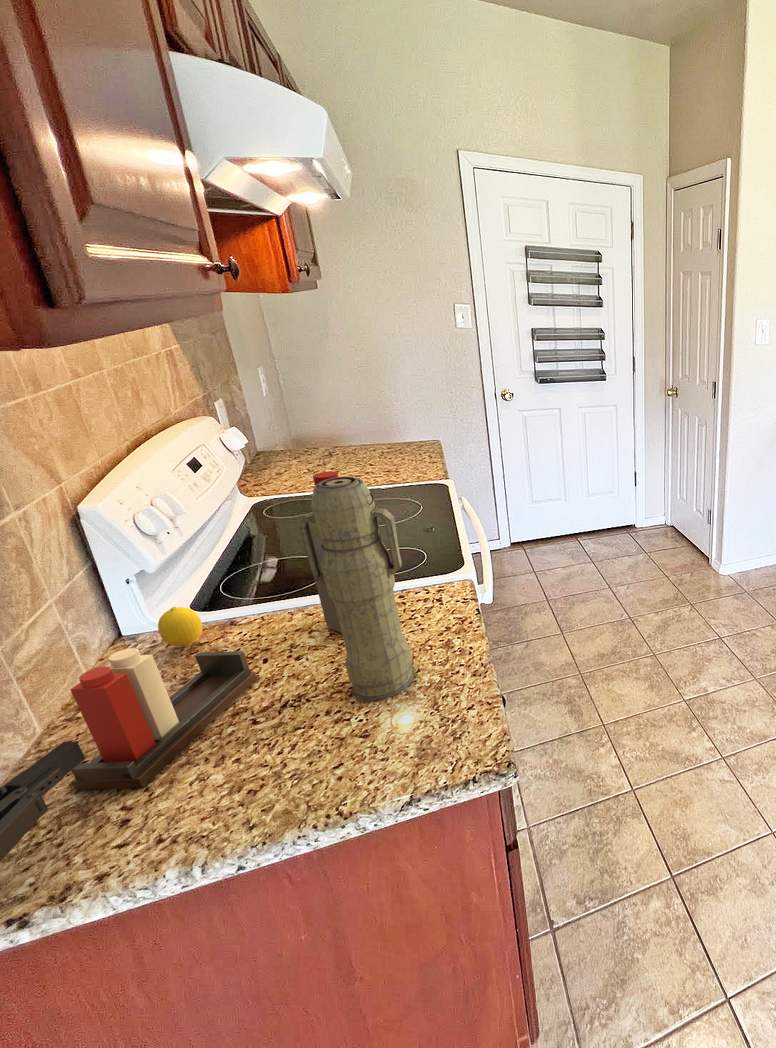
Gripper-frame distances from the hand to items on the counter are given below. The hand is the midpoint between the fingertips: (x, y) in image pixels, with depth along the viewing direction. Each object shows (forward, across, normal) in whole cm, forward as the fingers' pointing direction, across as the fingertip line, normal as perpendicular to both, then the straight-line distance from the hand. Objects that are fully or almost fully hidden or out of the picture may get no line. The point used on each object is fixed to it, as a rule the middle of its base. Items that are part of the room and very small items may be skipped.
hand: (74, 750), depth 69 cm
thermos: (+22, +25, -8) cm, 34 cm away
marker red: (+6, 0, -6) cm, 8 cm away
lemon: (+34, -14, -8) cm, 37 cm away
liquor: (+41, +12, -8) cm, 43 cm away
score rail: (+13, 0, -8) cm, 15 cm away
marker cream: (+10, 0, -6) cm, 11 cm away
